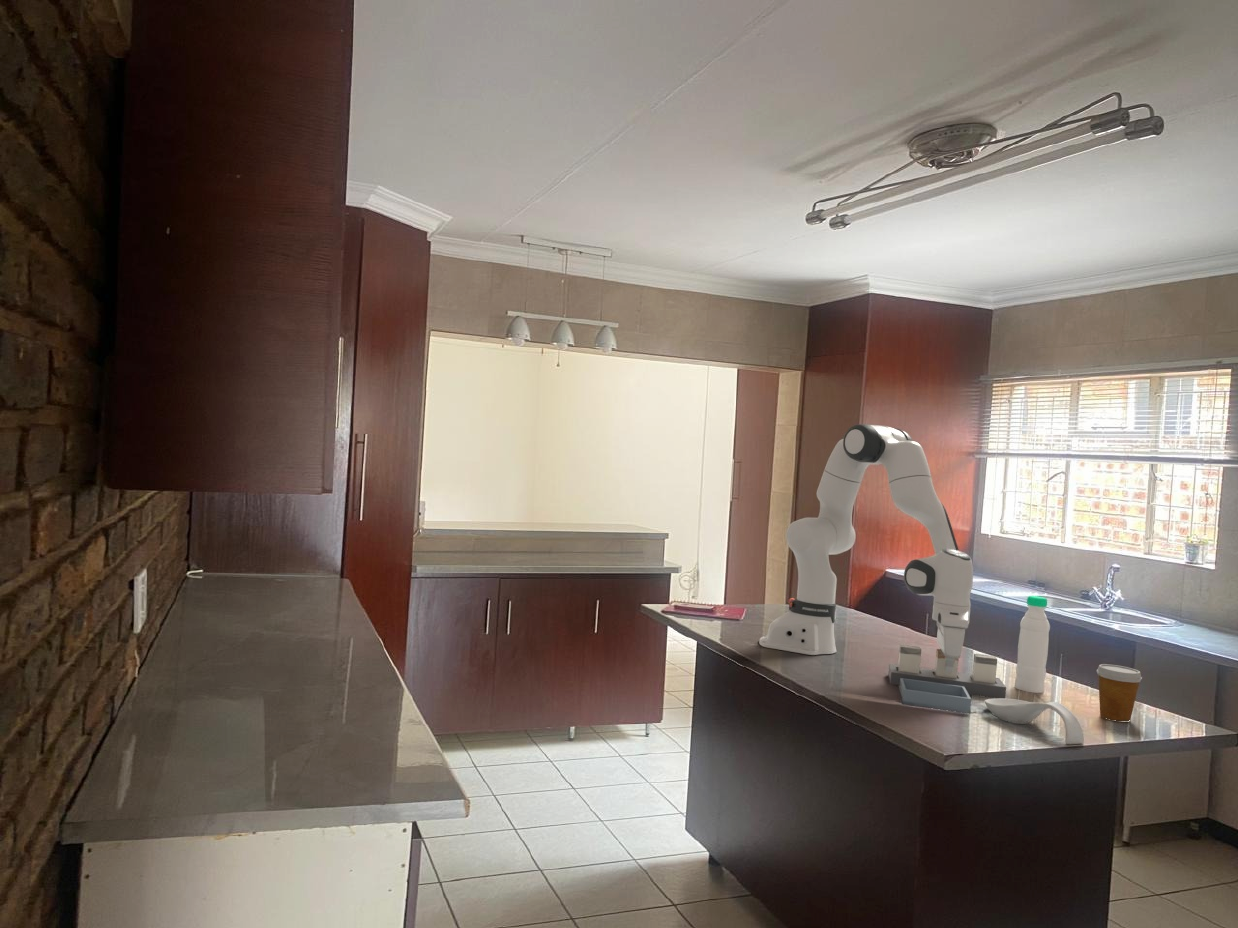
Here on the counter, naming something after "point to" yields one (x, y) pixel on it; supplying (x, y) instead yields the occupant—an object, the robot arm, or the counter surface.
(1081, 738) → the spoon rest
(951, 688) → the tray
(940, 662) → the orange cap fuse
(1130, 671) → the disposable coffee cup
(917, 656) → the block
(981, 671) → the block
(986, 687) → the fuse strip
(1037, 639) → the water bottle
